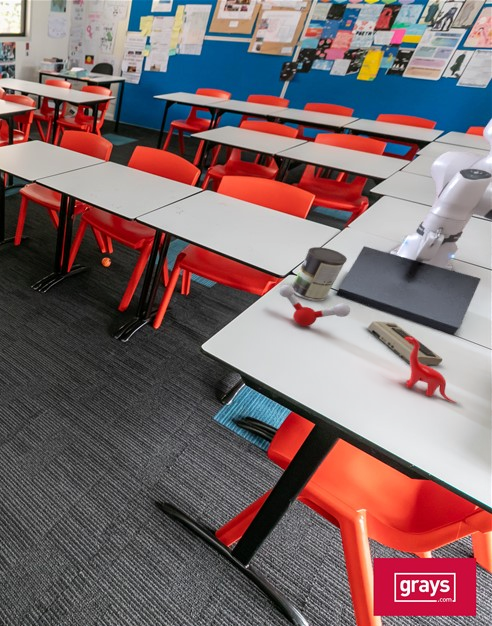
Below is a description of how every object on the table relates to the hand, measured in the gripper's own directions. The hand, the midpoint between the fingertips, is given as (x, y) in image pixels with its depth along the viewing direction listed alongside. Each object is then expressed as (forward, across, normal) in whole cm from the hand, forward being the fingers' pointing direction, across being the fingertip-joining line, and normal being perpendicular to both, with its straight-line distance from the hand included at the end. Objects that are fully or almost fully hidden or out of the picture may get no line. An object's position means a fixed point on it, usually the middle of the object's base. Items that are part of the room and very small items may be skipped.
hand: (416, 263), depth 137 cm
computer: (+10, -40, -4) cm, 42 cm away
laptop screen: (+3, -12, 0) cm, 13 cm away
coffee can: (+10, -28, +22) cm, 37 cm away
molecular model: (+10, -49, +19) cm, 54 cm away
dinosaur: (+10, -58, -9) cm, 60 cm away
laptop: (+10, -11, 0) cm, 15 cm away
